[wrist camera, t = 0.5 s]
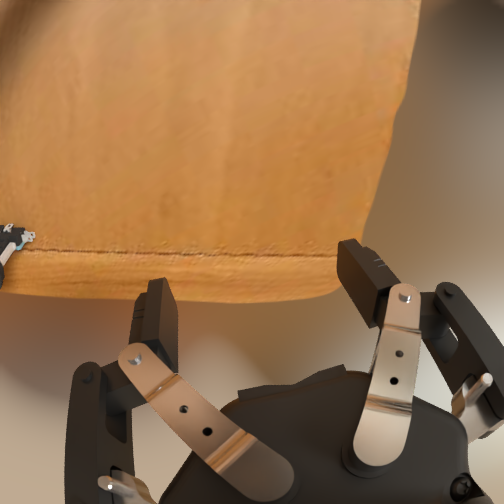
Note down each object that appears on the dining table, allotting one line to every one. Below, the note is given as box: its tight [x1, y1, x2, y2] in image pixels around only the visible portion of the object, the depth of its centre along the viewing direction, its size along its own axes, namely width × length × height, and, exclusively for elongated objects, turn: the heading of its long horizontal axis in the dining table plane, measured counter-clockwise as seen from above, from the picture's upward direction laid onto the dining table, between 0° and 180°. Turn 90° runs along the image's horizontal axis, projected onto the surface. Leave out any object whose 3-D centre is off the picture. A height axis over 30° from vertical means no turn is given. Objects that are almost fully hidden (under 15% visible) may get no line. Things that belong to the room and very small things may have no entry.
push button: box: [0, 224, 35, 289], centre depth 24 cm, size 7×5×10 cm
